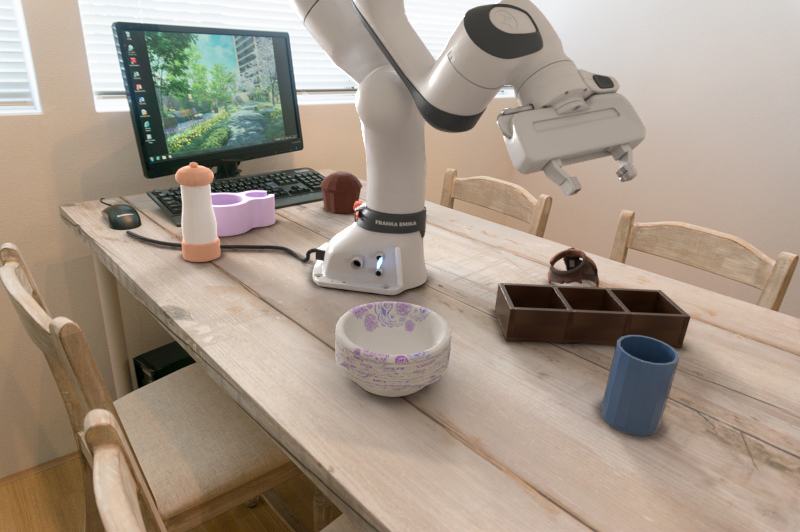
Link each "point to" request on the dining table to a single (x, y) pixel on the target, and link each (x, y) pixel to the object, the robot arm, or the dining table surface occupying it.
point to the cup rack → (587, 314)
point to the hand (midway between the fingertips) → (602, 185)
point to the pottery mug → (573, 268)
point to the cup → (639, 384)
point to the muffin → (340, 192)
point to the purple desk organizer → (242, 211)
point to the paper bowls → (392, 347)
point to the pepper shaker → (197, 214)
